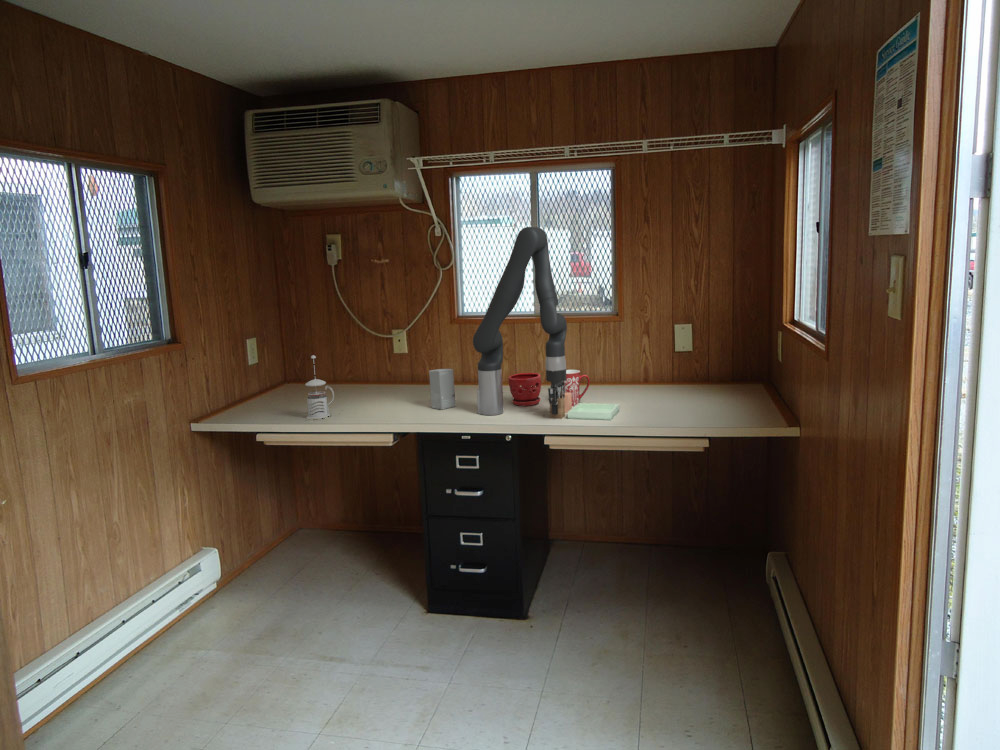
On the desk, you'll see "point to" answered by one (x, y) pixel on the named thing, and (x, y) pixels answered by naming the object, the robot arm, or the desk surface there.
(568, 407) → the terracotta block
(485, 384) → the robot arm
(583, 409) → the tray
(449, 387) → the skincare box
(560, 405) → the walnut block
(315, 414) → the french press
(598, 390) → the desk surface
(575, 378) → the mug
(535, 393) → the plant pot
